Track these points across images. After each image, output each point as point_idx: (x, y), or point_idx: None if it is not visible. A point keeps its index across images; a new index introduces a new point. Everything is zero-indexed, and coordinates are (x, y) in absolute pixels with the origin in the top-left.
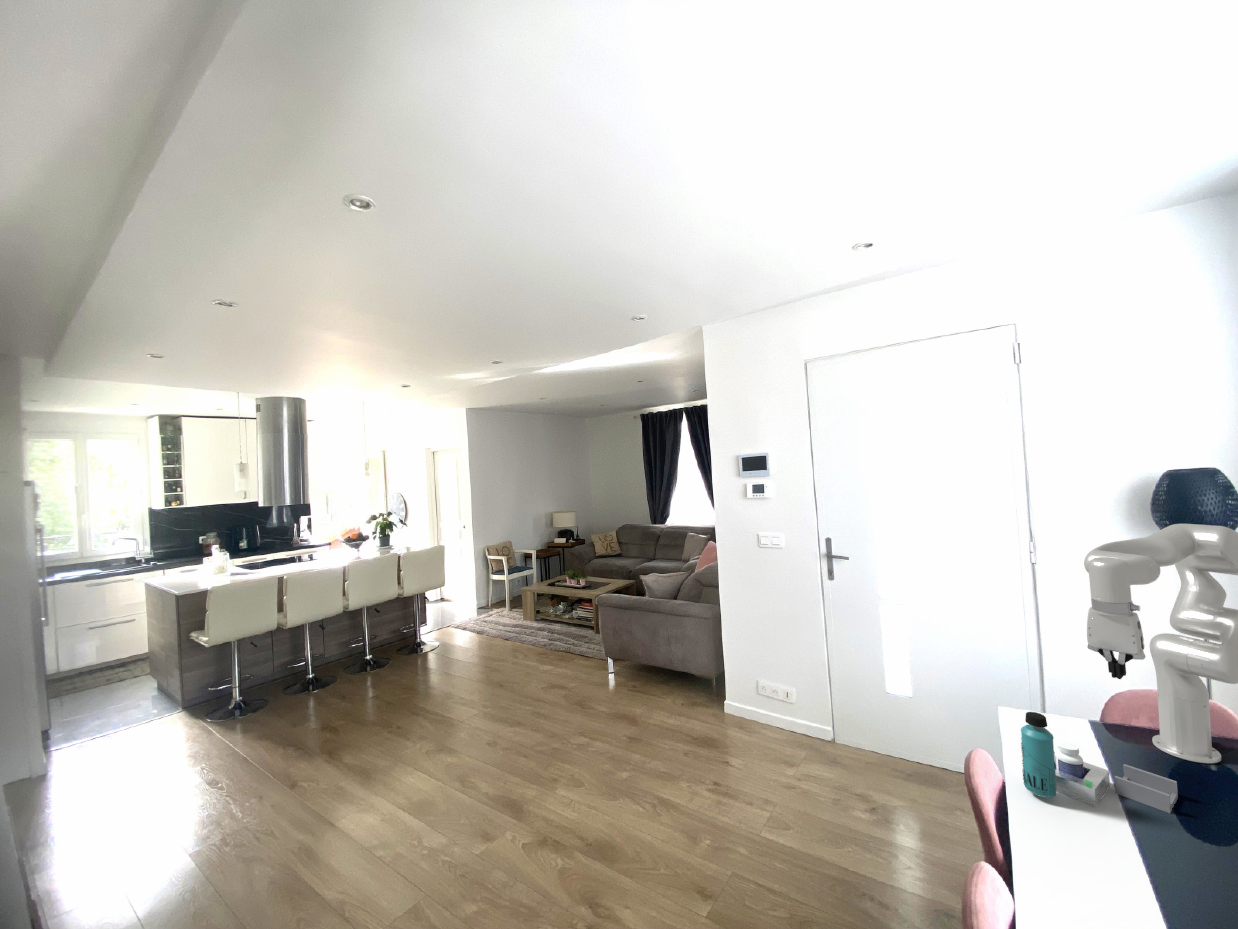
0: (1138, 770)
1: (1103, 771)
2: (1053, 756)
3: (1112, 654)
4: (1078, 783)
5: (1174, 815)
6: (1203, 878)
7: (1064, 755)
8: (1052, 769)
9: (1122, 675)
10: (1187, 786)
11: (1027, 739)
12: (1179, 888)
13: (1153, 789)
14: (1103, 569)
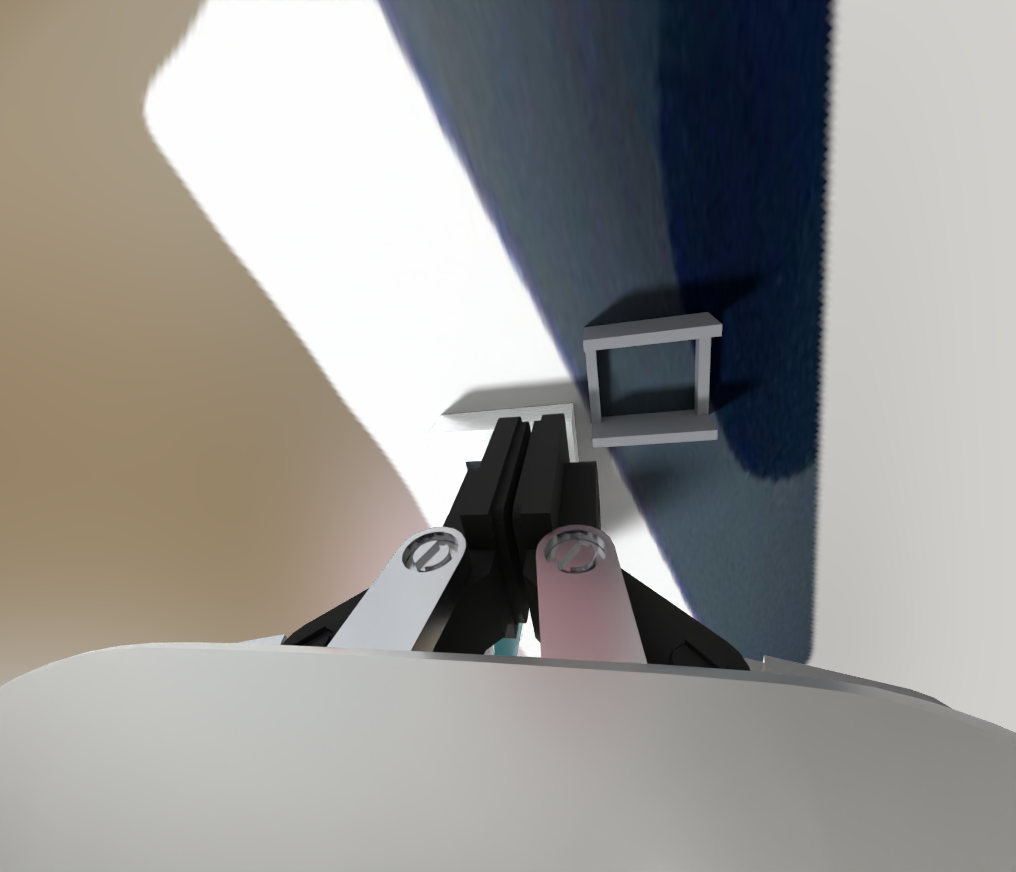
0: (623, 346)
1: None
2: (516, 649)
3: (443, 610)
4: None
5: (713, 416)
6: (779, 597)
7: None
8: (521, 629)
9: (567, 454)
10: (719, 190)
11: None
12: (749, 644)
13: (680, 435)
14: None
